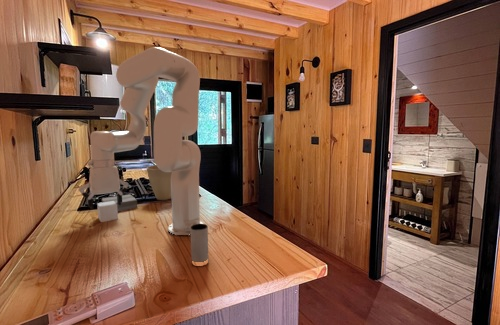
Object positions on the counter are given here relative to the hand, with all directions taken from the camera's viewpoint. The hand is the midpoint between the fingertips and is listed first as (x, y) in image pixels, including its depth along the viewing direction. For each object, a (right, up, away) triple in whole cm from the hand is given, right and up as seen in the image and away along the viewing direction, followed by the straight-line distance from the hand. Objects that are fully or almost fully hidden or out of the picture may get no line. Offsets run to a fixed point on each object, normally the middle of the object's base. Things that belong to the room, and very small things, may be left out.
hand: (105, 206), depth 107 cm
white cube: (+1, -5, +1) cm, 5 cm away
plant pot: (+14, -1, +29) cm, 32 cm away
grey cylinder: (+43, -10, -33) cm, 55 cm away
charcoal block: (-2, -3, +15) cm, 15 cm away
